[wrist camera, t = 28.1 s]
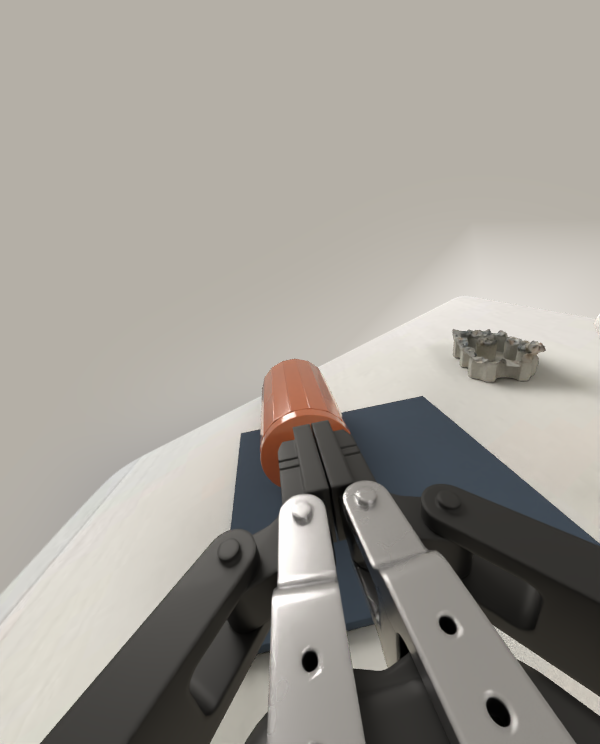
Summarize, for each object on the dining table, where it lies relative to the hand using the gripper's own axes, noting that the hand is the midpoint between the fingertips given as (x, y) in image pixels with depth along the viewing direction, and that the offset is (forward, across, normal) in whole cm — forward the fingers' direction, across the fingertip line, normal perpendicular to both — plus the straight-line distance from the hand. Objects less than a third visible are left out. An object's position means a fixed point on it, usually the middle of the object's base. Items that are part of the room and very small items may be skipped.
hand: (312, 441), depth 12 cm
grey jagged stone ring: (+21, -26, +10) cm, 35 cm away
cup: (+6, 0, +6) cm, 8 cm away
